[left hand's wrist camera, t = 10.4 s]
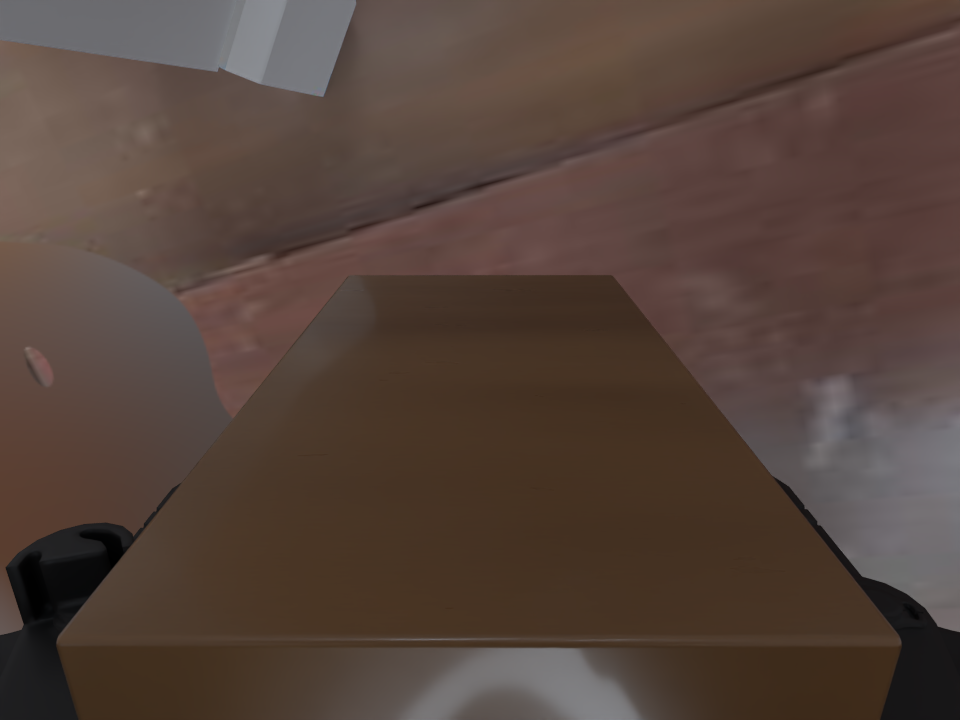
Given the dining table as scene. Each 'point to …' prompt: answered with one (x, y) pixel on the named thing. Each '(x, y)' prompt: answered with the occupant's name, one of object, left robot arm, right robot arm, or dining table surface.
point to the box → (479, 536)
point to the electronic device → (195, 34)
